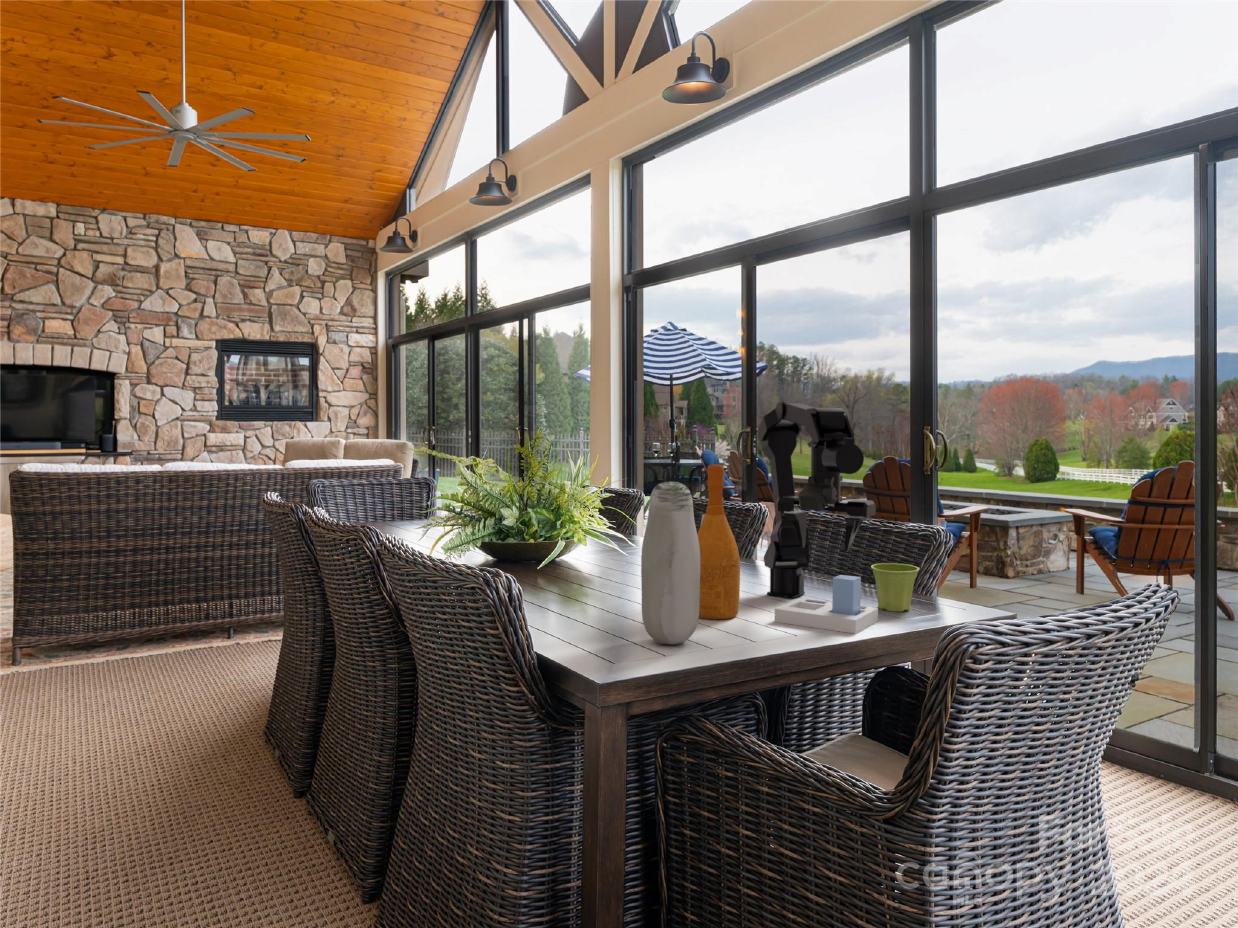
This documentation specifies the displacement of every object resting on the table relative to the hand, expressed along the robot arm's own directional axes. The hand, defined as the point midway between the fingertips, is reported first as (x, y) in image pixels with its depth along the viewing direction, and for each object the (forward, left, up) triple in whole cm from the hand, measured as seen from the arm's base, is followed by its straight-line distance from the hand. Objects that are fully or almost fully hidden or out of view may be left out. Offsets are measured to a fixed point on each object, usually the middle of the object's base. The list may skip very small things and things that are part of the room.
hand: (824, 549), depth 172 cm
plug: (+7, -6, -13) cm, 16 cm away
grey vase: (-13, -37, -13) cm, 41 cm away
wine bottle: (-17, -14, -13) cm, 26 cm away
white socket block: (+3, -6, -13) cm, 15 cm away
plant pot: (+10, +13, -13) cm, 21 cm away
